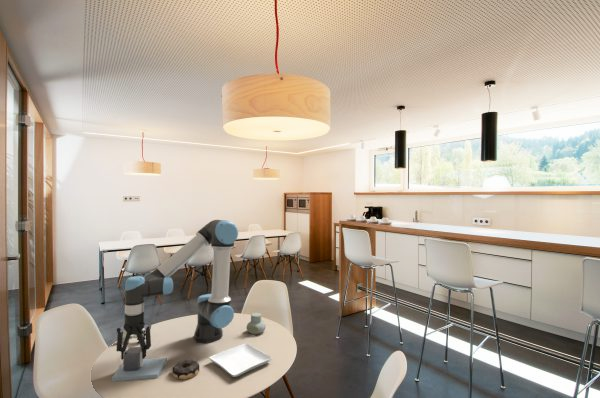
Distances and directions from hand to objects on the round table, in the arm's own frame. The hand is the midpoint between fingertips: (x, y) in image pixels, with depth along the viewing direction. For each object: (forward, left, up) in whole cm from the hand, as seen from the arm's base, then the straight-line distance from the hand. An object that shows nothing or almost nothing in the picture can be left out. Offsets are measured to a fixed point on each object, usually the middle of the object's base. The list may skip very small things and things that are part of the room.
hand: (133, 365), depth 134 cm
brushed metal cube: (0, 0, 0) cm, 0 cm away
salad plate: (-46, 0, -3) cm, 46 cm away
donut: (-23, +5, -3) cm, 24 cm away
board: (-3, 0, -2) cm, 4 cm away
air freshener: (-53, -34, -3) cm, 63 cm away
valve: (+12, -30, -3) cm, 33 cm away
